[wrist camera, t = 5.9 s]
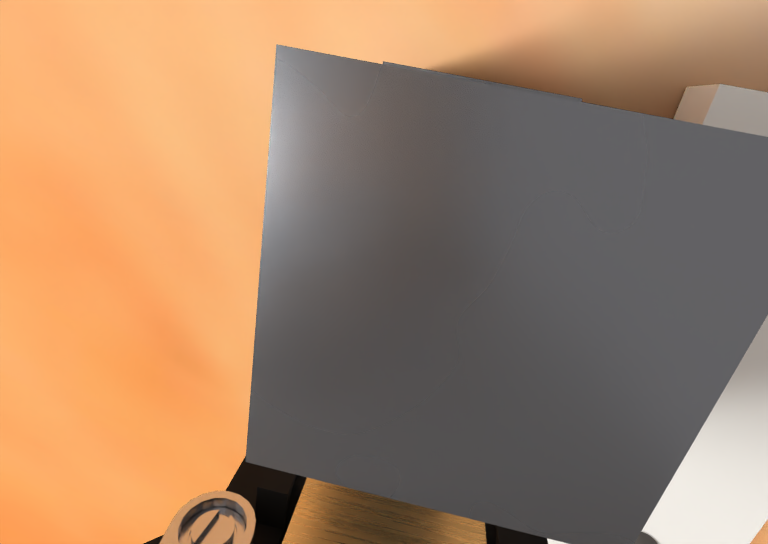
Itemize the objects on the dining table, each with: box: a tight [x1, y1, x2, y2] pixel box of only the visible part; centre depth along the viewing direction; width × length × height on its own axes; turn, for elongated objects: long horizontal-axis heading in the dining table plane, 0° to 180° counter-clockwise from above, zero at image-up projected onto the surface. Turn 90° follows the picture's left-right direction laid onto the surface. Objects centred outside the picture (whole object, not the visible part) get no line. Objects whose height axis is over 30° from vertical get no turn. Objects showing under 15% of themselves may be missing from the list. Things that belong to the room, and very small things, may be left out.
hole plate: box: [547, 84, 768, 544], centre depth 14 cm, size 18×7×2 cm, turn 170°
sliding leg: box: [282, 478, 487, 544], centre depth 9 cm, size 4×7×9 cm, turn 80°
